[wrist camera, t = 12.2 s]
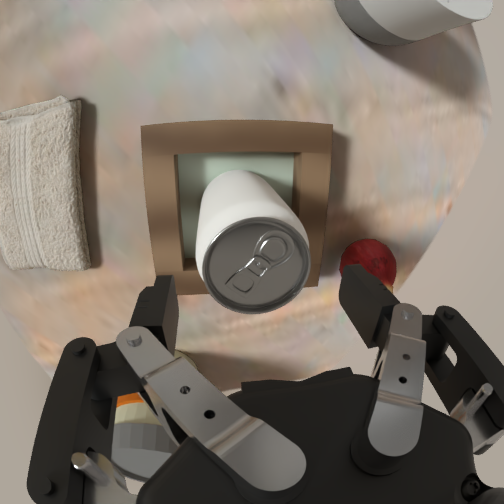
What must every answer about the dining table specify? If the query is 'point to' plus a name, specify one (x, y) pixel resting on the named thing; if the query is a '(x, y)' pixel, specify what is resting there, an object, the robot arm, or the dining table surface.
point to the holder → (220, 161)
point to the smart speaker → (408, 18)
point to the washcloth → (42, 187)
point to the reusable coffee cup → (140, 437)
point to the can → (250, 245)
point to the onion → (372, 260)
